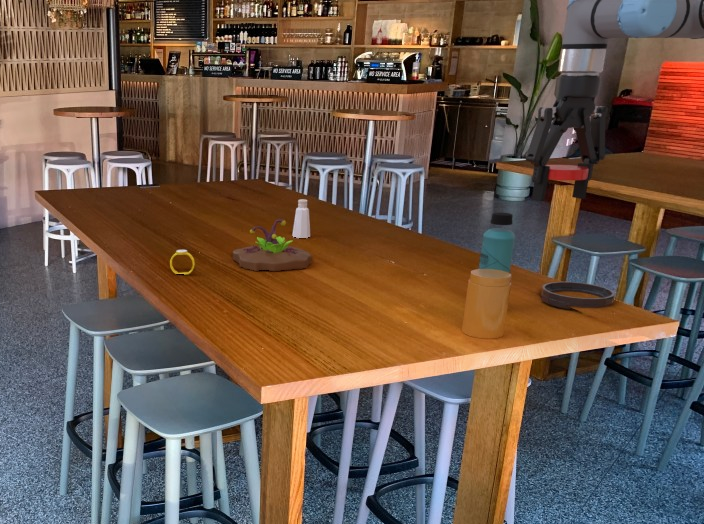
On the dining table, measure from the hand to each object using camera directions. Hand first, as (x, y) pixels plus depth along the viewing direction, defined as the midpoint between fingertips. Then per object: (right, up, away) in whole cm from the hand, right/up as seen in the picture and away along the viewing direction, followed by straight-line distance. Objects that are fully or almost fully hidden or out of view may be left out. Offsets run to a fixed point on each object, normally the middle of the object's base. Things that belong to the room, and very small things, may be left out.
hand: (558, 199), depth 154 cm
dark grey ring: (+11, -19, +16) cm, 27 cm away
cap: (0, +5, -2) cm, 6 cm away
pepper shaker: (-39, +8, +84) cm, 92 cm away
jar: (-16, -26, -2) cm, 30 cm away
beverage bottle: (-9, -20, +13) cm, 26 cm away
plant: (-50, -4, +53) cm, 73 cm away
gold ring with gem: (-74, -9, +41) cm, 85 cm away
